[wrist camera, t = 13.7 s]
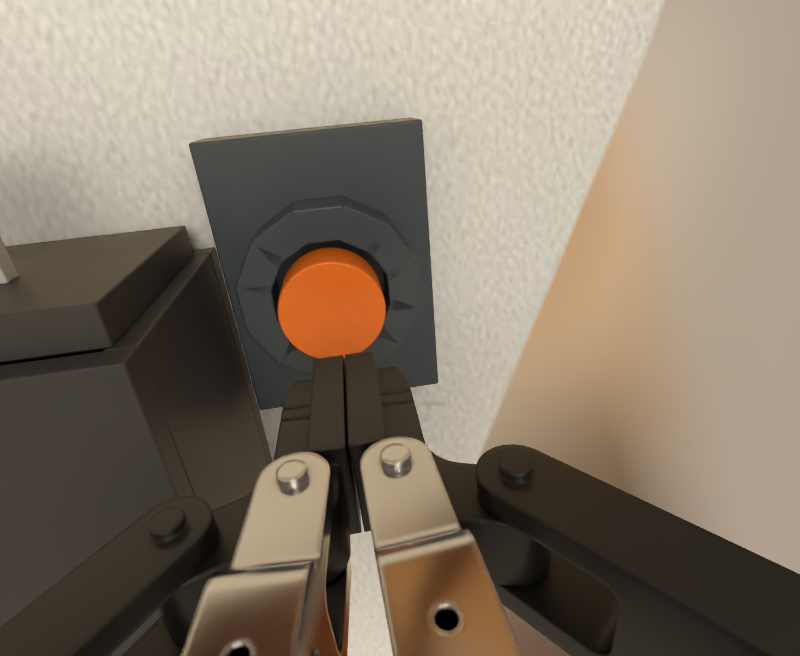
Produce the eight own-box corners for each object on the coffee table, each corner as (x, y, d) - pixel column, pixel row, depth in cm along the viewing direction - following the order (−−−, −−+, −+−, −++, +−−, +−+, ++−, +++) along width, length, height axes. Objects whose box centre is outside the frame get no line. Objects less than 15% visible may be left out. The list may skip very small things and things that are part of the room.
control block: (203, 138, 18) (171, 147, 14) (412, 117, 18) (432, 121, 15) (265, 384, 23) (253, 436, 19) (429, 359, 23) (447, 406, 20)
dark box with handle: (-253, 139, 15) (-758, 172, 8) (149, 101, 16) (12, 100, 9) (2, 530, 23) (-141, 718, 16) (262, 487, 24) (235, 646, 17)
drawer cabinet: (-145, 290, 18) (-572, 460, 10) (214, 247, 20) (123, 363, 11) (22, 549, 25) (-143, 791, 16) (284, 505, 26) (262, 707, 17)
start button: (272, 253, 16) (266, 269, 15) (375, 240, 17) (380, 255, 15) (292, 344, 18) (288, 367, 16) (385, 331, 18) (390, 352, 17)
